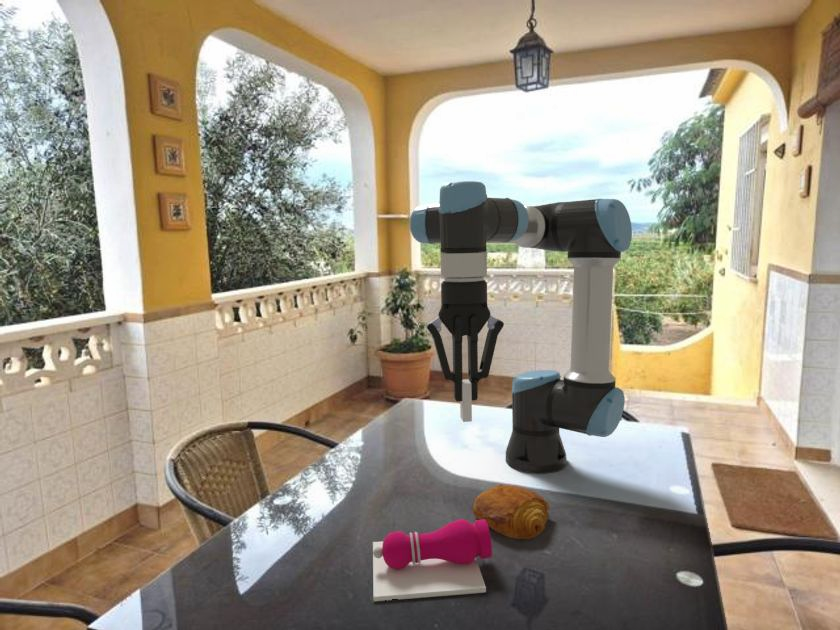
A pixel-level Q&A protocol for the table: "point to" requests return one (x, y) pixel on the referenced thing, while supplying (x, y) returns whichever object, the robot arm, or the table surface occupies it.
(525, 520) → the croissant
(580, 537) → the table surface
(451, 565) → the white mat
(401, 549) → the pepper mill
